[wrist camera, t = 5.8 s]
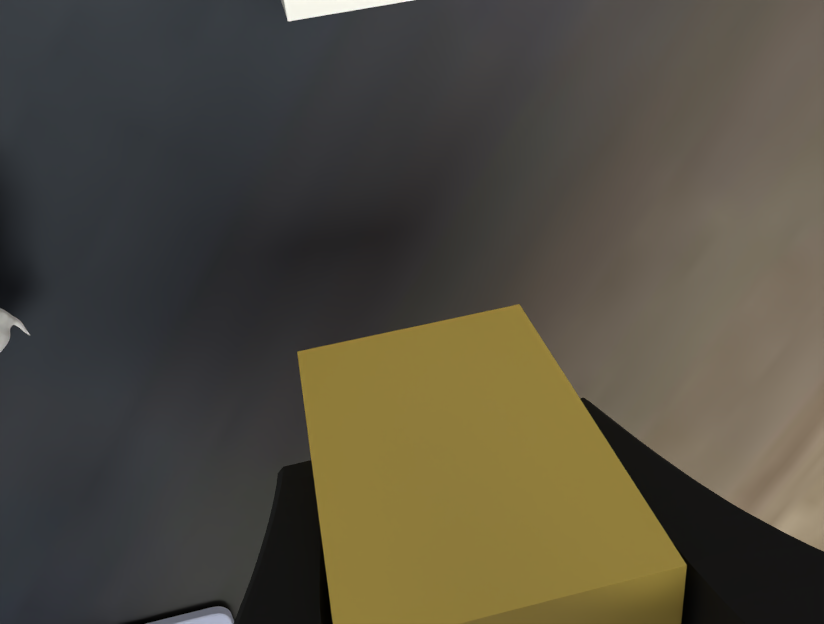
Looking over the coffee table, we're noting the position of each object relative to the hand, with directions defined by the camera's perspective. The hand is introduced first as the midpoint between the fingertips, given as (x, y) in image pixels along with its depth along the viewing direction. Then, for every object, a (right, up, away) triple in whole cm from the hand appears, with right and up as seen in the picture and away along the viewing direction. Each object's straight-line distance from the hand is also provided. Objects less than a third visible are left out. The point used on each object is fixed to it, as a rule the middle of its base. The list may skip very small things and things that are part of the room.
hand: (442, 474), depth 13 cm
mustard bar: (0, +1, +1) cm, 2 cm away
